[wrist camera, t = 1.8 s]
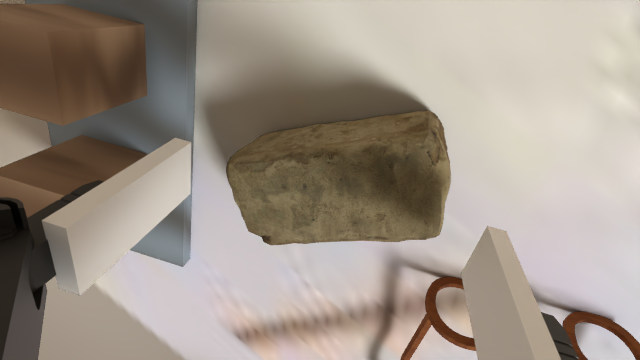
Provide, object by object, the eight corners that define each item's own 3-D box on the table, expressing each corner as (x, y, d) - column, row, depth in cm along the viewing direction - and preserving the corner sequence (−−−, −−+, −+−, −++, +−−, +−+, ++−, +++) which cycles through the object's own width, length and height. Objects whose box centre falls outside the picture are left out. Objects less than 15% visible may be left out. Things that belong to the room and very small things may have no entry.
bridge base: (189, 258, 28) (130, 330, 22) (77, 223, 29) (-10, 282, 23) (199, -72, 17) (89, -113, 11) (22, -112, 18) (-169, -170, 12)
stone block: (250, 130, 22) (212, 162, 18) (441, 100, 19) (453, 129, 15) (274, 209, 24) (246, 254, 20) (448, 194, 21) (460, 243, 17)
